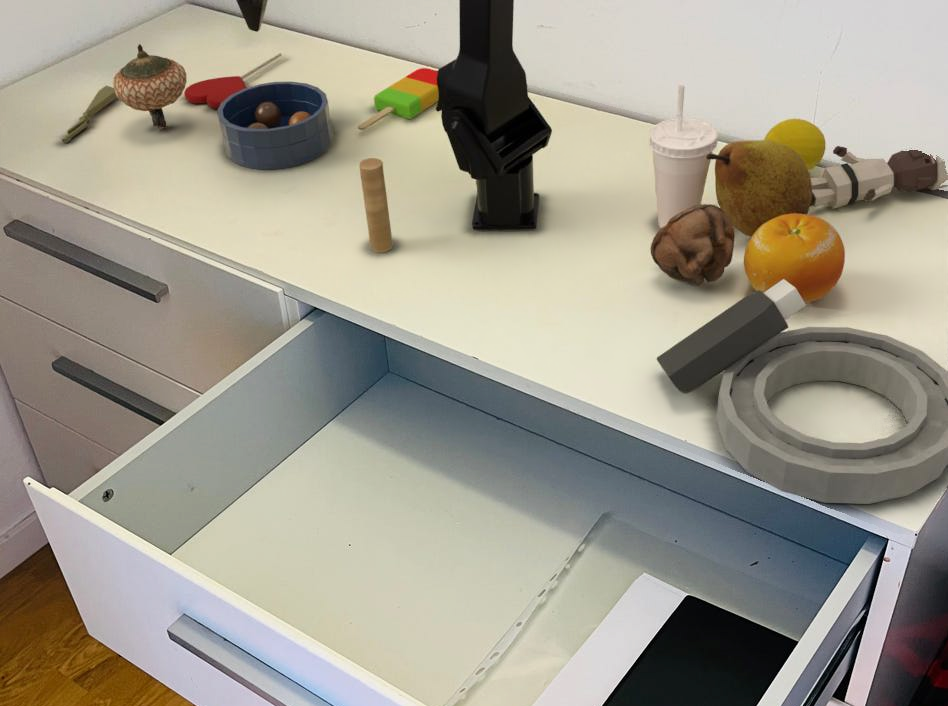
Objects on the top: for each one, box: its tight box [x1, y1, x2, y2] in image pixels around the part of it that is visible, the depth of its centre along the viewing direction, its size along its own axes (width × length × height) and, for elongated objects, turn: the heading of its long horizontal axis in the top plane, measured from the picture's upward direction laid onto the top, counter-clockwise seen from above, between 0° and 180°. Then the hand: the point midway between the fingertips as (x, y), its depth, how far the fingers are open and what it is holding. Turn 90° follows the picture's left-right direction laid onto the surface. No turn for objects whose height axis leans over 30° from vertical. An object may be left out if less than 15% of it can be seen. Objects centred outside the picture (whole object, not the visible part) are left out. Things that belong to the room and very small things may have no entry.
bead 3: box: [289, 111, 312, 125], centre depth 131 cm, size 3×3×3 cm
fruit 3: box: [743, 213, 846, 304], centre depth 104 cm, size 8×8×8 cm
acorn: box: [112, 43, 187, 130], centre depth 134 cm, size 8×8×10 cm
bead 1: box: [255, 102, 282, 129], centre depth 134 cm, size 3×3×3 cm
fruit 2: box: [706, 139, 812, 238], centre depth 110 cm, size 9×9×12 cm
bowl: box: [216, 81, 334, 170], centre depth 132 cm, size 12×12×4 cm
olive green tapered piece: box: [61, 85, 118, 144], centre depth 140 cm, size 12×3×1 cm, turn 156°
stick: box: [358, 157, 394, 253], centre depth 113 cm, size 2×2×9 cm
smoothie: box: [648, 84, 719, 230], centre depth 111 cm, size 6×6×14 cm
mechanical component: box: [715, 326, 948, 505], centre depth 92 cm, size 18×18×3 cm
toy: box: [810, 145, 948, 210], centre depth 116 cm, size 8×5×15 cm
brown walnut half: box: [650, 203, 736, 287], centre depth 106 cm, size 8×8×5 cm
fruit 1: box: [763, 118, 826, 171], centre depth 120 cm, size 6×6×8 cm
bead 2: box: [248, 123, 269, 129], centre depth 130 cm, size 3×3×3 cm
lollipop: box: [184, 52, 282, 110], centre depth 145 cm, size 8×1×15 cm
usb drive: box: [656, 279, 807, 395], centre depth 95 cm, size 5×12×3 cm
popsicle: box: [357, 67, 439, 131], centre depth 137 cm, size 6×15×2 cm, turn 144°
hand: (275, 10), depth 122 cm, fingers open, 9 cm apart
